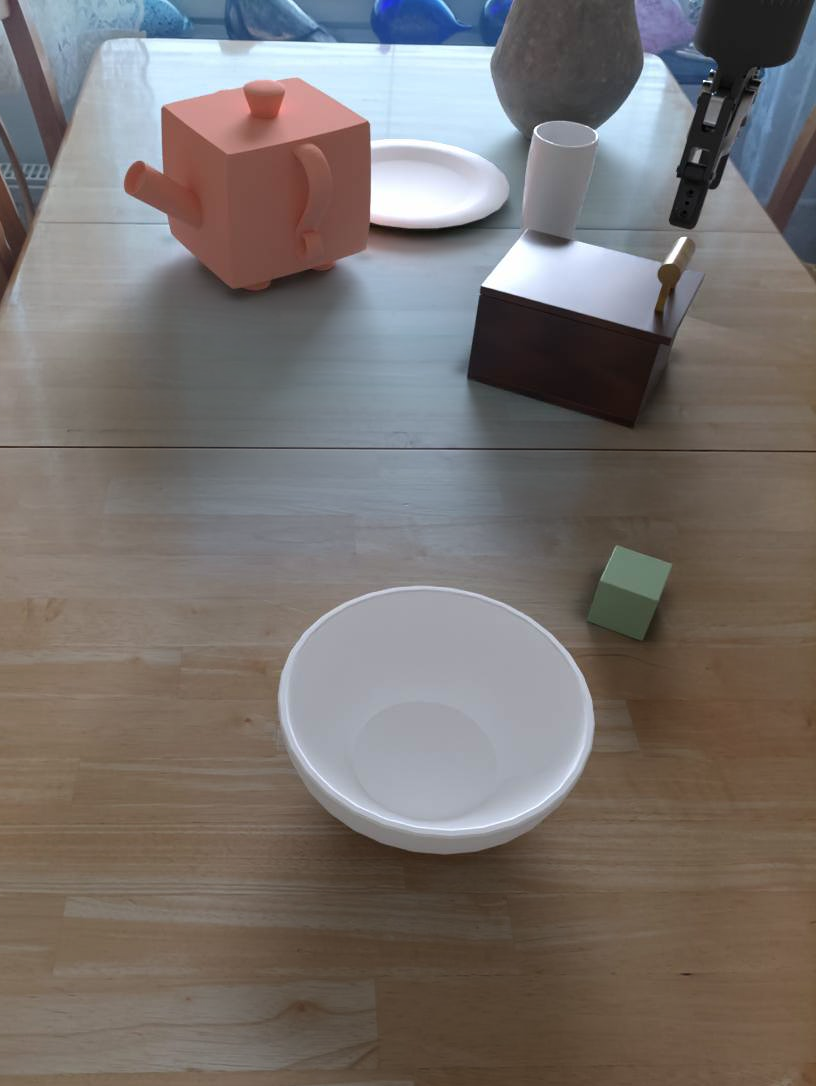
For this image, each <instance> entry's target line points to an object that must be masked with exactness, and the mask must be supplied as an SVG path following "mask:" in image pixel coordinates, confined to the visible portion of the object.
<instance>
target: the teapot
mask: <svg viewBox="0 0 816 1086" xmlns="http://www.w3.org/2000/svg"><path fill="white" fill-rule="evenodd" d="M160 114H161V115H160V123H161V124H160V128H161V130H160V131H161V156H162V157H161V159H162V172H161V171H159V170H158V169H156V168H154V167H153V166H151V165H149V164H148V163H146V162H144V161H143V160H136V161H135V162H133V163H132V164H131V165H130V166H129V168H128V169H127V171H126V172H125V176H124V179H123V189H124V192H125V193H126V194H127V195H128V196H131V197H133V198H135V199H137V200H139V201H140V202H142V203H144V204H146V205H148V206H150V207H152V208H153V209H156V210H158V211H159V212H162V213H164V214H166V216H167V221H168V225H169V226H168V227H169V231H170V234H171V235H172V237H173V238H175V239H176V240H177V241H178V242H179V243H180V244H181V245H182V246H183V247H184V248H185V249H186V250H187V251H189V252H190V253H191V254H192V255H193V256H194V257H195V258H196V259H197V260H198V261H199V262H200V263H202V264H203V265H204V266H205V267H206V268H207V269H209V270H210V271H211V272H212V273H213V274H214V275H215V276H216V277H218V278H219V280H221V281H222V282H224V284H226V285H227V286H228V287H230V288H231V289H234V290H236V289H241V288H242V289H245V290H248V291H261V290H265V289H267V288H269V287H270V286H271V283H272V281H273V280H276V279H279V278H284V277H286V276H290V275H293V274H297V273H300V272H304V271H307V270H310V269H311V270H314V271H328V270H331V269H333V268H334V267H335V266H336V261H338V260H341V259H344V258H348V257H350V256H353V255H356V254H359V253H361V252H364V251H366V249H367V245H368V240H369V233H370V228H371V227H370V225H371V224H370V209H371V141H372V139H371V123H370V122H369V120H367V119H366V118H364V117H363V116H361V115H360V114H358V113H357V112H355V111H354V110H353V109H350V108H349V107H347V106H346V105H344V104H342V103H341V102H340V101H338V100H336V99H335V98H333V97H331V96H330V95H328V94H326V93H325V92H323V91H322V90H320V89H318V88H317V87H315V86H313V85H311V84H310V83H308V82H306V81H305V80H303V79H301V78H300V77H288V78H284V79H283V78H282V79H278V80H273V79H267V78H266V79H265V78H264V79H255V80H251V81H249V82H247V83H245V84H244V85H243V86H241V87H236V88H232V89H227V88H226V89H220V90H217V91H216V92H213V93H209V94H204V95H200V96H195V97H190V98H186V99H182V100H177V101H174V102H169V103H167V104H164V105H163V104H162V106H161V108H160Z"/></svg>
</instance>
